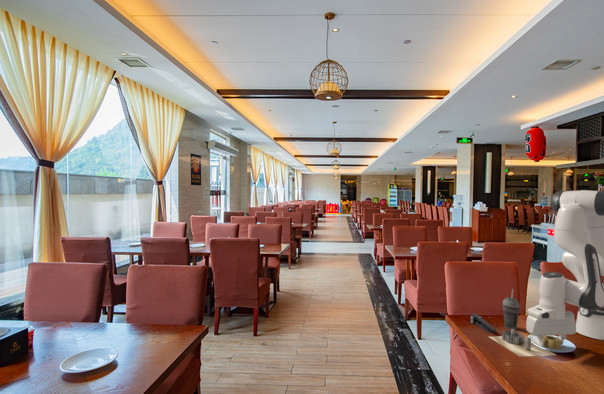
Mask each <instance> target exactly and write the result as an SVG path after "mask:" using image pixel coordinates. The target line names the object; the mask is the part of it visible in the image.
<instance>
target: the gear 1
mask: <svg viewBox="0 0 604 394" xmlns="http://www.w3.org/2000/svg"><path fill="white" fill-rule="evenodd" d="M501 336H502V340H504V341H506V342H507V343H511V344H515V345H524V338H526V337H525V334H522V333H520V332H519V331H515V335H511V329H508V330H502V332H501Z"/></svg>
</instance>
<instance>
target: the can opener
mask: <svg viewBox="0 0 604 394" xmlns="http://www.w3.org/2000/svg"><path fill="white" fill-rule="evenodd" d="M469 320H470V322H469V323H470V324H471V325H473V324H474V325H475V326H477V327H478V328H479V327H480V329H482V330H484V331H485V332H487V333H489V334H491V335H493V334H494V333H497V329H495V327H494V326H493V325H491V324H490V323H489V322H488V321H487V320H485V319H484V318H483V317H482V316H480V315H477V314H476V313H471V314H470V319H469Z"/></svg>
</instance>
